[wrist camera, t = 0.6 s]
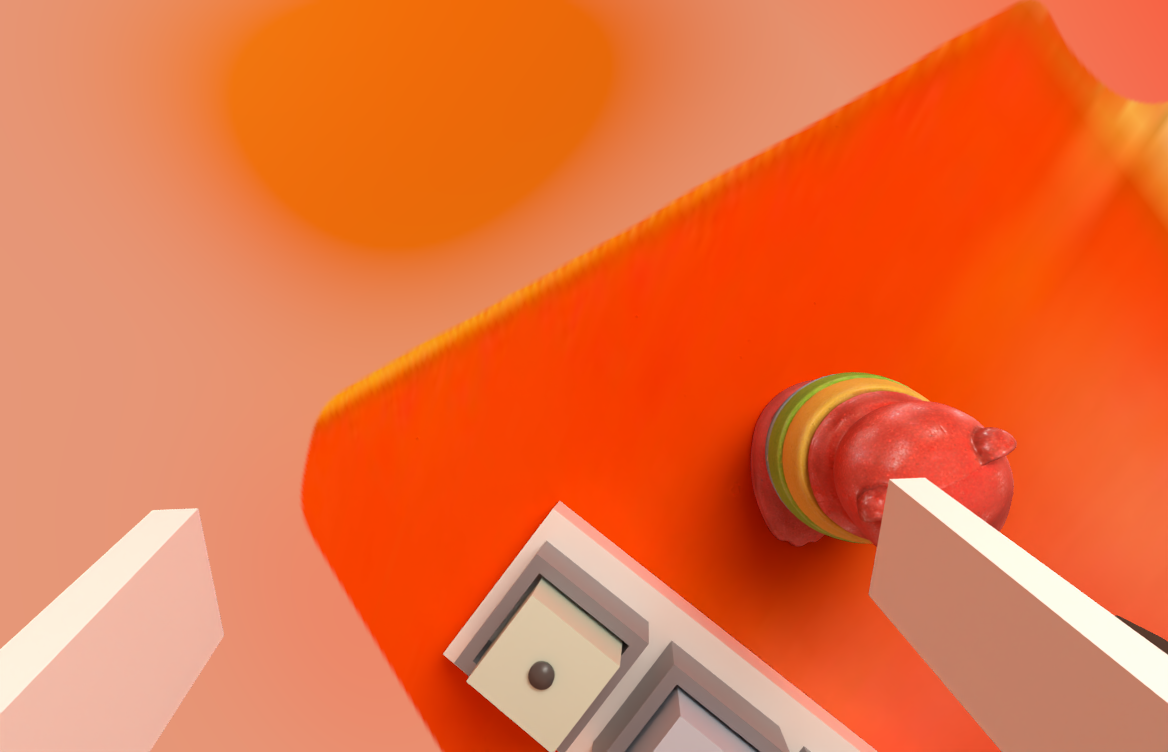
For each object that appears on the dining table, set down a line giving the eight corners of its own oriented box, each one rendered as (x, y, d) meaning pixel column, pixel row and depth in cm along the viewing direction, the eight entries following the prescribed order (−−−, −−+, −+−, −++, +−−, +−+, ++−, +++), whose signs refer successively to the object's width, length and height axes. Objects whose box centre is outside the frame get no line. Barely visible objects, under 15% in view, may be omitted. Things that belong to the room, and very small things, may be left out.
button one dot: (622, 637, 37) (619, 669, 33) (562, 716, 37) (551, 757, 33) (544, 574, 37) (530, 596, 33) (485, 651, 38) (464, 683, 33)
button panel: (927, 790, 40) (982, 866, 33) (813, 934, 40) (845, 1037, 33) (559, 500, 43) (544, 518, 36) (456, 636, 43) (423, 678, 37)
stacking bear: (778, 554, 41) (878, 670, 23) (716, 414, 42) (767, 425, 24) (933, 491, 40) (1158, 562, 23) (866, 350, 41) (1033, 312, 23)
